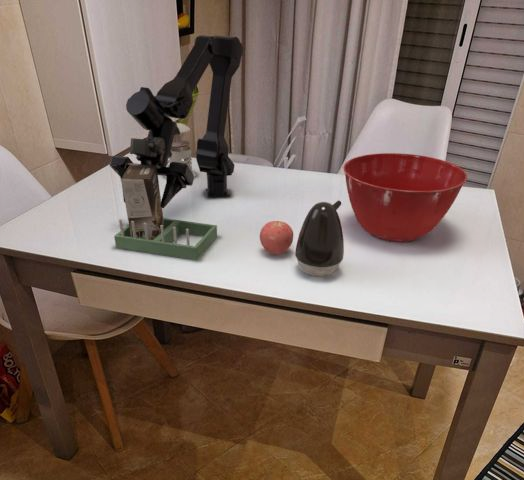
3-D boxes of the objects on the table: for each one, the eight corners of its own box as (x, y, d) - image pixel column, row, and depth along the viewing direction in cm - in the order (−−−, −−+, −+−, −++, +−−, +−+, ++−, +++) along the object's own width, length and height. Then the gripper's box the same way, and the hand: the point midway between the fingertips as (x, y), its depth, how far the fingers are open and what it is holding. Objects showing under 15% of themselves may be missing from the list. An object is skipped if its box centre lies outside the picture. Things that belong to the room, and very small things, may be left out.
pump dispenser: (351, 271, 108) (361, 203, 99) (320, 287, 102) (327, 216, 93) (315, 255, 114) (321, 189, 105) (284, 270, 108) (288, 201, 99)
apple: (298, 253, 114) (301, 220, 109) (275, 263, 110) (276, 229, 106) (277, 242, 119) (278, 210, 114) (253, 251, 115) (254, 218, 110)
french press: (160, 179, 153) (150, 88, 138) (171, 167, 162) (163, 81, 147) (190, 181, 152) (184, 90, 137) (200, 169, 161) (196, 83, 146)
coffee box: (159, 247, 115) (150, 179, 105) (131, 247, 115) (119, 178, 105) (165, 229, 122) (157, 163, 112) (139, 229, 122) (129, 163, 112)
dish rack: (142, 226, 125) (138, 199, 121) (217, 236, 121) (216, 209, 116) (116, 248, 115) (111, 219, 111) (197, 260, 111) (195, 231, 106)
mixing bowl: (324, 244, 119) (331, 179, 109) (349, 203, 140) (356, 146, 131) (446, 265, 111) (465, 197, 102) (453, 219, 133) (469, 159, 123)
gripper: (106, 117, 109) (88, 183, 107) (185, 124, 105) (168, 193, 103) (128, 145, 120) (113, 206, 118) (200, 153, 116) (186, 215, 114)
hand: (143, 205), depth 113 cm, fingers open, 9 cm apart
